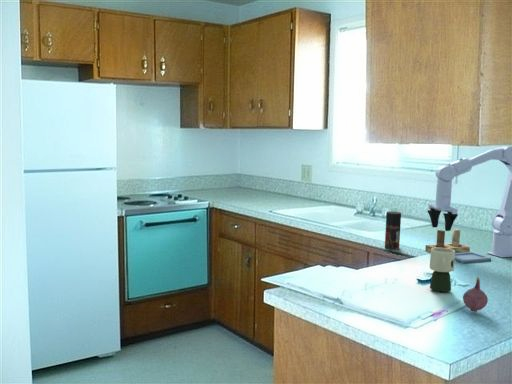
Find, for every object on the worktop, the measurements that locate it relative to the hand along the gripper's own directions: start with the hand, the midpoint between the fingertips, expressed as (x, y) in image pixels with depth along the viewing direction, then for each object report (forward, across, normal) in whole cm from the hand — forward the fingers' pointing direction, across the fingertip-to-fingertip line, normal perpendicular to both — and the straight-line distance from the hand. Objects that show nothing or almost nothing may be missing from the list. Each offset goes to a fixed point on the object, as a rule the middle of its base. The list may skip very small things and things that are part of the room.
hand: (441, 228), depth 217 cm
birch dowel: (+10, 0, +8) cm, 13 cm away
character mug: (+10, +42, -37) cm, 57 cm away
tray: (+10, +12, +3) cm, 16 cm away
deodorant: (+10, -13, -14) cm, 22 cm away
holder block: (+10, 0, +4) cm, 11 cm away
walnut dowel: (+10, 0, 0) cm, 10 cm away
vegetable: (+10, +61, -42) cm, 75 cm away
